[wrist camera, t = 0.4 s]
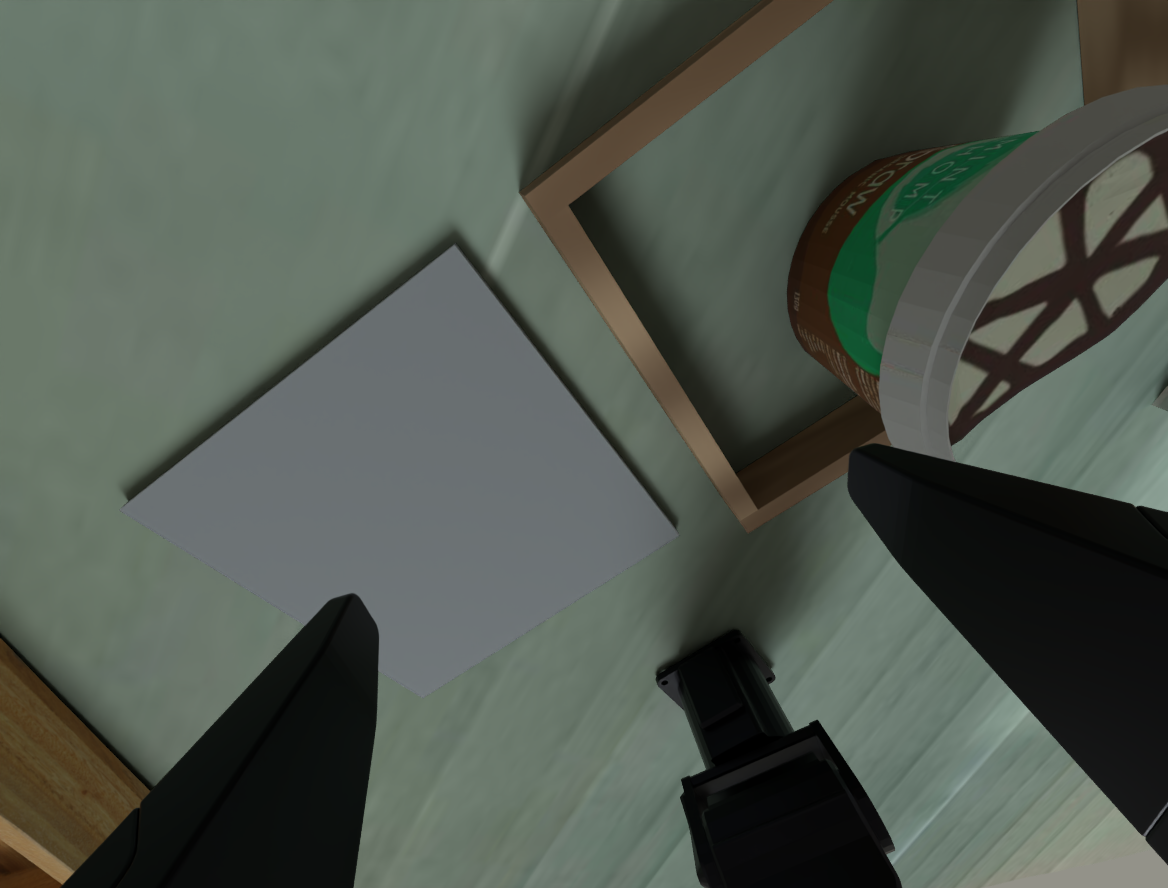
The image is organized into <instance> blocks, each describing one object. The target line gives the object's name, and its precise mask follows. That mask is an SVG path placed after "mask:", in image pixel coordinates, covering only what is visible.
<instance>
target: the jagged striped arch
mask: <svg viewBox="0 0 1168 888" xmlns="http://www.w3.org/2000/svg"><path fill="white" fill-rule="evenodd" d="M1152 405H1153V406H1156V407H1158V408H1161V409H1163V410H1166V411H1168V386H1167V387H1166V388H1165V389H1164V391H1163V392H1162V393H1161V394H1160V395H1159V397H1158V398H1157V399H1156V400H1155V401H1154V403H1153V404H1152Z"/></svg>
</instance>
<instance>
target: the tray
mask: <svg viewBox="0 0 1168 888" xmlns="http://www.w3.org/2000/svg"><path fill="white" fill-rule="evenodd" d="M149 792H150V791H149V790H148V789H147V787H146V786H145V785H144V784H143V783H142V782H141V781H140V780H139V779H138V778H137V777H136V776H135V775H134V774H133V773H132V772H130V771H129V770H128V769H127V768H126V767H125V766H124V765H123V764H122V762H121V761H120V760H119V759H118V758H117V757H116V756H115V755H114V754H113V753H112V752H111V751H110V750H109V749H108V748H107V747H106V746H105V745H104V744H103V743H102V742H101V741H100V740H99V739H98V738H97V737H96V736H95V735H94V734H93V733H92V732H91V731H90V730H89V729H88V728H87V727H86V725H85V724H84V723H83V722H82V721H81V720H80V719H79V718H78V717H77V716H76V715H75V714H74V713H73V712H72V711H71V710H70V709H69V708H68V707H67V706H66V705H65V704H64V703H63V702H62V701H61V700H60V699H59V698H58V697H57V696H56V695H55V694H54V693H53V692H52V691H51V690H50V689H49V688H48V687H47V686H46V685H45V684H44V683H43V682H42V681H41V680H40V679H39V678H38V677H37V675H36V674H35V673H34V672H33V671H32V670H31V669H30V668H29V667H28V666H27V665H26V664H25V663H24V662H23V661H22V660H21V659H20V658H19V657H18V656H17V655H16V654H15V653H14V652H13V650H12V649H11V648H10V647H9V646H8V645H7V644H6V643H5V642H4V641H3V640H2V639H1V638H0V888H60V887H61V886H62V884H63V883H64V882H65V881H66V880H67V879H68V878H69V877H70V876H71V875H72V874H73V873H74V872H75V871H76V870H77V869H78V868H79V867H80V866H81V865H82V864H83V862H84V861H85V860H86V859H87V858H88V857H89V856H90V855H91V854H92V853H93V852H94V851H95V850H96V849H97V848H98V847H99V846H100V845H101V844H102V843H103V842H104V841H105V839H106V838H107V837H108V836H109V835H110V834H111V833H112V832H113V831H114V830H115V829H116V828H117V827H118V826H119V824H120V823H121V822H122V821H123V820H124V819H125V818H126V817H127V816H128V815H129V814H130V813H131V811H132V810H133V809H135V808H138V807H139V808H140V802H141V801H142V800H143V799H144V798H145V797H146V796H147V795H148V793H149Z"/></svg>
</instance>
